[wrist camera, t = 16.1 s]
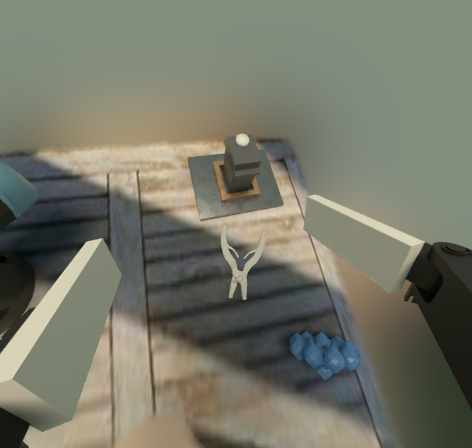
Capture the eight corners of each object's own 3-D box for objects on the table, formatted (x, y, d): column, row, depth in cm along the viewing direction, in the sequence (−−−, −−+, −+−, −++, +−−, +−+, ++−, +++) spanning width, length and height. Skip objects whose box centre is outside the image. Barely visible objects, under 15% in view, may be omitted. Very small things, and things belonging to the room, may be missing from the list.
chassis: (200, 220, 40) (199, 216, 38) (188, 160, 44) (186, 153, 42) (282, 205, 44) (286, 201, 42) (263, 151, 48) (266, 145, 46)
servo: (229, 198, 42) (237, 167, 30) (221, 167, 44) (225, 128, 33) (250, 194, 43) (264, 163, 31) (240, 164, 45) (251, 126, 34)
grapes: (276, 363, 34) (310, 404, 22) (276, 322, 36) (307, 341, 24) (333, 364, 35) (393, 404, 24) (330, 325, 37) (383, 344, 26)
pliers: (266, 229, 40) (262, 302, 35) (264, 231, 42) (259, 301, 37) (223, 222, 39) (212, 296, 34) (222, 224, 41) (212, 295, 36)
